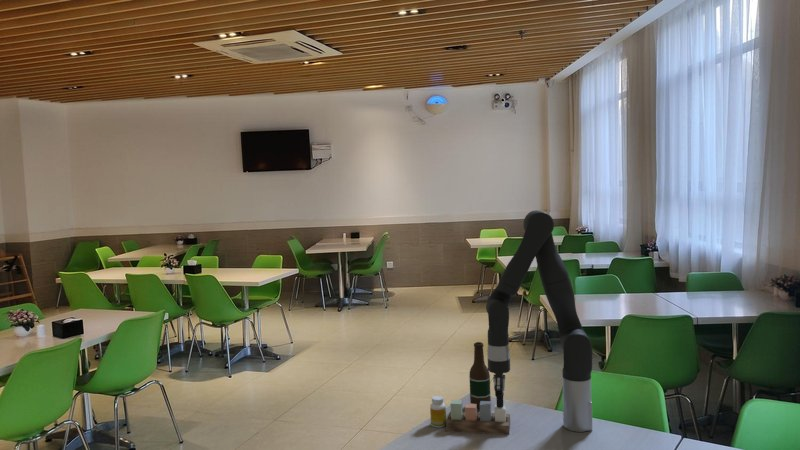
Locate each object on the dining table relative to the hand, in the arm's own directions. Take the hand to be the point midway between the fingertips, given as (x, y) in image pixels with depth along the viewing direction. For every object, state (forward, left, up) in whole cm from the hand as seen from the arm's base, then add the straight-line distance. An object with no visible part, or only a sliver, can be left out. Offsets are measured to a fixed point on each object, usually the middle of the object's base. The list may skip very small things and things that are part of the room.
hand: (500, 406), depth 208 cm
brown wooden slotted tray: (+8, 0, -8) cm, 11 cm away
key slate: (+5, 0, -5) cm, 7 cm away
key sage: (+15, 0, -5) cm, 16 cm away
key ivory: (0, 0, -6) cm, 6 cm away
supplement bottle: (+22, 0, -8) cm, 23 cm away
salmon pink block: (+10, 0, -6) cm, 12 cm away
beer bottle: (+9, -19, -8) cm, 22 cm away
